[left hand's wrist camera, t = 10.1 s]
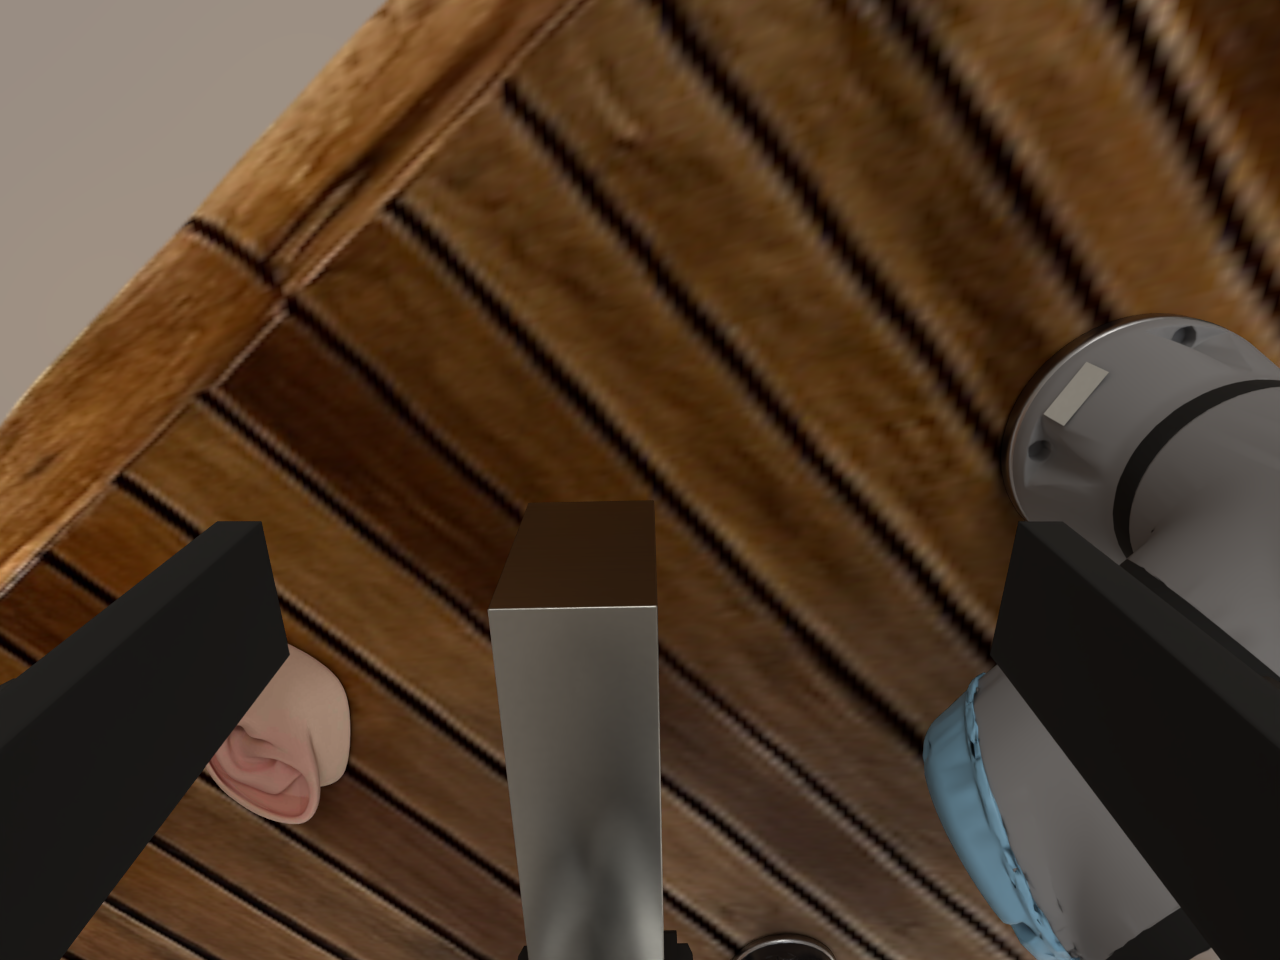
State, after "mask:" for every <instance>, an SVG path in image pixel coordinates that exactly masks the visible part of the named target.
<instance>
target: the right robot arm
mask: <svg viewBox="0 0 1280 960" xmlns="http://www.w3.org/2000/svg"><path fill="white" fill-rule="evenodd" d="M663 933H664V960H693V955H692V952H691V950H690V948H689V945H688V943H677V932H676V930H663ZM518 960H529V959H528V950H527V946H524V947H523V949H522V951H521V953H520V954H519V956H518ZM733 960H836V959H835V957H834V955H833V954H832V952H831V951H830V950H829V949H828V948H827V947H826V946H825V945H823V944H822V943H820V942H819V941H817V940H815V939H812V938H809V937H806V936H801V935H795V934H779V935H772V936H767V937H764V938H761V939H758V940H756V941H754V942H752V943H750V944H748V945H747V946H745V947H744V948H742V949H741V950H740V951H739V952H738V953H737V954H736V956H735V957H734V958H733Z"/></svg>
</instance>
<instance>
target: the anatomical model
mask: <svg viewBox="0 0 1280 960" xmlns="http://www.w3.org/2000/svg"><path fill="white" fill-rule="evenodd" d="M288 648H289V652H290V656H289V657H288V658H287V660H286V661H285V662H284V663H283V665H282V666H281V667H280V669H279V670H278V671H277V673H276V674H275V675H274V677H273V678H272V679H271V681H270V682H269V683H268V685H267V686H266V687H265V689H264V690H263V691H262V693H261V694H260V695H259V697H258V698H257V699H256V701H255V702H254V703H253V705H252V706H251V707H250V708H249V710H248V711H247V712H246V714H245V715H244V716H243V718H242V719H241V720H240V722H239V723H238V724H237V726H236V727H235V728H234V730H233V731H232V732H231V734H230V735H229V736H228V738H227V739H226V740H225V742H224V743H223V744H222V746H221V747H220V748H219V750H218V751H217V752H216V753H215V755H214V756H213V757H212V759H211V760H210V761H209V763H208V764H207V765H206V769H207V771H208V772H209V774H210V775H211V777H212V778H213V779H214V781H215V782H216V783H217V784H218V785H219V787H220V788H221V789H222V790H223V791H224V792H225V793H226V794H227V795H229V796H230V797H231V798H233V799H234V800H235V801H237V802H238V803H239V804H241V805H242V806H244V807H246V808H247V809H249V810H250V811H252V812H254V813H256V814H258V815H260V816H263V817H265V818H268V819H271V820H274V821H277V822H282V823H289V824H300V823H304V822H306V821H308V820H309V819H310V818H311V817H312V816H313V815H314V813H315V812H316V809H317V807H318V804H319V799H320V787H321V786H326V785H329V784H332V783H334V782H336V781H337V780H339V779H340V778H341V776H342V775H343V773H344V771H345V769H346V766H347V762H348V757H349V748H350V714H349V706H348V700H347V697H346V693H345V691H344V688H343V686H342V684H341V683H340V681H339V680H338V678H337V677H336V676H335V675H334V674H333V673H332V672H331V671H330V670H329V669H328V668H327V667H326V666H324V665H323V664H322V663H320V662H319V661H317V660H316V659H315V658H313V657H311V656H310V655H308V654H307V653H305V652H303V651H301V650H299V649H297V648H295V647H294V646H292V645H290V644H288Z"/></svg>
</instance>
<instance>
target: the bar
mask: <svg viewBox="0 0 1280 960" xmlns="http://www.w3.org/2000/svg"><path fill="white" fill-rule="evenodd" d="M488 616H489V625H490V633H491V642H492V650H493V659H494V667H495V676H496V685H497V693H498V702H499V710H500V719H501V727H502V736H503V745H504V753H505V762H506V770H507V779H508V787H509V796H510V804H511V813H512V822H513V830H514V839H515V847H516V856H517V864H518V873H519V882H520V890H521V899H522V907H523V916H524V924H525V933H526V941H527V950H528V959H529V960H664V933H663V879H662V825H661V771H660V717H659V663H658V609H657V575H656V543H655V511H654V501H653V500H649V501H600V502H551V503H528V506H527V509H526V511H525V514H524V517H523V519H522V522H521V524H520V527H519V530H518V532H517V535H516V537H515V540H514V543H513V545H512V548H511V551H510V553H509V556H508V558H507V561H506V564H505V566H504V569H503V571H502V574H501V577H500V579H499V582H498V585H497V587H496V590H495V592H494V595H493V598H492V600H491V603H490V605H489V608H488Z"/></svg>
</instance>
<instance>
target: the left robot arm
mask: <svg viewBox="0 0 1280 960" xmlns="http://www.w3.org/2000/svg"><path fill="white" fill-rule="evenodd" d="M1001 469H1002V476H1003V481H1004V485H1005V488H1006V491H1007V493H1008V496H1009V498H1010V500H1011V502H1012V504H1013V505H1014V507H1015V509H1016V510H1017V511H1018V513H1019V514H1020V515H1021V517H1022V518H1023V519H1024V520H1025V521H1019V522H1018V527H1017V531H1016V536H1015V540H1014V545H1013V550H1012V554H1011V559H1010V564H1009V568H1008V573H1007V578H1006V582H1005V587H1004V592H1003V596H1002V601H1001V606H1000V610H999V615H998V620H997V624H996V629H995V634H994V638H993V643H992V648H991V652H990V656H991V657H992V658H993V660H994V661H995V662H996V663H997V665H996V666H995V667H993V668H992V669H991V670H990V671H988V672H987V673H982V674H980V675H978V676H977V677H976V678H974V679H973V680H972V681H971V683H970V685H969V687H968V689H967V690H966V691H965V692H964V693H963V694H962V695H961V696H960V697H959V698H958V699H957V700H956V701H955V702H954V703H953V704H952V705H951V706H950V707H949V708H947V709H946V710H945V711H944V712H943V713H942V714H941V715H940V716H939V717H937V718H936V719H935V721H934V722H933V723H932V724H931V726H930V727H929V729H928V731H927V733H926V736H925V740H924V745H923V760H924V765H925V766H924V770H925V778H926V782H927V785H928V789H929V793H930V795H931V798H932V801H933V804H934V807H935V809H936V812H937V814H938V816H939V819H940V821H941V823H942V825H943V828H944V830H945V832H946V834H947V836H948V838H949V840H950V842H951V844H952V846H953V847H954V849H955V851H956V853H957V855H958V857H959V858H960V860H961V862H962V863H963V865H964V867H965V869H966V870H967V872H968V874H969V875H970V877H971V878H972V880H973V882H974V883H975V885H976V886H977V888H978V889H979V891H980V892H981V894H982V895H983V897H984V898H985V900H986V901H987V902H988V904H989V905H990V907H991V908H992V909H993V911H994V912H995V913H996V915H997V916H998V917H999V918H1000V919H1001V920H1002V922H1004V923H1006V924H1010V925H1011V927H1012V928H1013V930H1014V932H1015V934H1016V935H1017V937H1018V939H1019V941H1020V943H1021V944H1022V945H1023V946H1024V947H1025V948H1026V949H1027V950H1028V951H1029V952H1030V953H1031V954H1032V955H1033V956H1034V957H1035V958H1036V959H1038V960H1280V369H1279V368H1278V367H1277V366H1276V365H1275V364H1274V363H1273V362H1271V361H1270V360H1269V359H1268V358H1267V357H1266V356H1264V355H1263V354H1262V353H1261V352H1260V351H1259V350H1258V349H1256V348H1255V347H1254V346H1253V345H1252V344H1251V343H1249V342H1248V341H1246V340H1245V339H1244V338H1242V337H1240V336H1239V335H1237V334H1235V333H1233V332H1231V331H1229V330H1227V329H1226V328H1224V327H1221V326H1219V325H1216V324H1214V323H1211V322H1207V321H1204V320H1200V319H1195V318H1191V317H1187V316H1181V315H1175V314H1163V313H1155V314H1142V315H1135V316H1130V317H1126V318H1121V319H1118V320H1115V321H1112V322H1109V323H1106V324H1104V325H1101V326H1099V327H1097V328H1094V329H1092V330H1090V331H1088V332H1087V333H1085V334H1083V335H1081V336H1079V337H1078V338H1076V339H1075V340H1073V341H1071V342H1070V343H1068V344H1067V345H1066V346H1064V347H1063V348H1062V349H1060V350H1059V351H1058V352H1057V353H1056V354H1054V355H1053V356H1052V357H1051V358H1050V359H1049V360H1048V361H1047V362H1046V363H1045V364H1044V365H1043V366H1042V367H1041V368H1040V369H1039V370H1038V371H1037V372H1036V373H1035V375H1034V376H1033V377H1032V378H1031V380H1030V381H1029V382H1028V384H1027V385H1026V387H1025V388H1024V389H1023V391H1022V392H1021V394H1020V396H1019V398H1018V399H1017V401H1016V403H1015V405H1014V407H1013V409H1012V412H1011V414H1010V416H1009V419H1008V422H1007V425H1006V428H1005V432H1004V436H1003V442H1002V449H1001ZM289 656H290V652H289V648H288V643H287V638H286V634H285V629H284V624H283V620H282V615H281V610H280V606H279V601H278V596H277V592H276V587H275V582H274V578H273V573H272V568H271V564H270V559H269V554H268V550H267V545H266V540H265V536H264V531H263V527H262V522H261V521H217V522H216V523H215V524H213V525H212V526H211V527H209V528H208V529H207V530H206V531H204V532H203V533H202V534H200V535H199V536H198V537H197V538H195V539H194V540H193V541H192V542H190V543H189V544H188V545H186V546H185V547H184V548H183V549H181V550H180V551H179V552H177V553H176V554H175V555H174V556H172V557H171V558H170V559H168V560H167V561H166V562H165V563H163V564H162V565H161V566H159V567H158V568H157V569H156V570H154V571H153V572H152V573H151V574H149V575H148V576H147V577H145V578H144V579H143V580H142V581H140V582H139V583H138V584H136V585H135V586H134V587H133V588H131V589H130V590H129V591H127V592H126V593H125V594H124V595H122V596H121V597H120V598H118V599H117V600H116V601H115V602H113V603H112V604H111V605H110V606H108V607H107V608H106V609H104V610H103V611H102V612H101V613H99V614H98V615H97V616H95V617H94V618H93V619H92V620H90V621H89V622H88V623H86V624H85V625H84V626H83V627H81V628H80V629H79V630H77V631H76V632H75V633H74V634H72V635H71V636H70V637H68V638H67V639H66V640H65V641H63V642H62V643H61V644H60V645H58V646H57V647H56V648H54V649H53V650H52V651H51V652H49V653H48V654H47V655H45V656H44V657H43V658H42V659H40V660H39V661H38V662H36V663H35V664H34V665H33V666H31V667H30V668H29V669H27V670H26V671H25V672H24V673H22V674H21V675H20V676H19V677H17V678H16V679H12V680H10V681H8V682H6V683H4V684H2V685H0V960H60V959H61V957H62V956H63V955H64V953H65V952H66V951H67V949H68V948H69V947H70V945H71V944H72V943H73V941H74V940H75V939H76V937H77V936H78V935H79V934H80V932H81V931H82V930H83V928H84V927H85V926H86V924H87V923H88V922H89V920H90V919H91V918H92V916H93V915H94V914H95V912H96V911H97V910H98V908H99V907H100V906H101V904H102V903H103V902H104V900H105V899H106V898H107V896H108V895H109V894H110V892H111V891H112V890H113V889H114V887H115V886H116V885H117V883H118V882H119V881H120V879H121V878H122V877H123V875H124V874H125V873H126V871H127V870H128V869H129V867H130V866H131V865H132V863H133V862H134V861H135V859H136V858H137V857H138V855H139V854H140V853H141V851H142V850H143V849H144V847H145V846H146V845H147V844H148V842H149V841H150V840H151V838H152V837H153V836H154V834H155V833H156V832H157V830H158V829H159V828H160V826H161V825H162V824H163V822H164V821H165V820H166V818H167V817H168V816H169V814H170V813H171V812H172V810H173V809H174V808H175V806H176V805H177V804H178V802H179V801H180V800H181V799H182V797H183V796H184V795H185V793H186V792H187V791H188V789H189V788H190V787H191V785H192V784H193V783H194V781H195V780H196V779H197V777H198V776H199V775H200V773H201V772H202V771H203V769H204V768H205V767H206V765H207V764H208V763H209V761H210V760H211V759H212V757H213V756H214V755H215V753H216V752H217V751H218V750H219V748H220V747H221V746H222V744H223V743H224V742H225V740H226V739H227V738H228V736H229V735H230V734H231V732H232V731H233V730H234V728H235V727H236V726H237V724H238V723H239V722H240V720H241V719H242V718H243V716H244V715H245V714H246V712H247V711H248V710H249V708H250V707H251V706H252V705H253V703H254V702H255V701H256V699H257V698H258V697H259V695H260V694H261V693H262V691H263V690H264V689H265V687H266V686H267V685H268V683H269V682H270V681H271V679H272V678H273V677H274V675H275V674H276V673H277V671H278V670H279V669H280V667H281V666H282V665H283V663H284V662H285V661H286V660H287V658H288V657H289Z"/></svg>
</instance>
